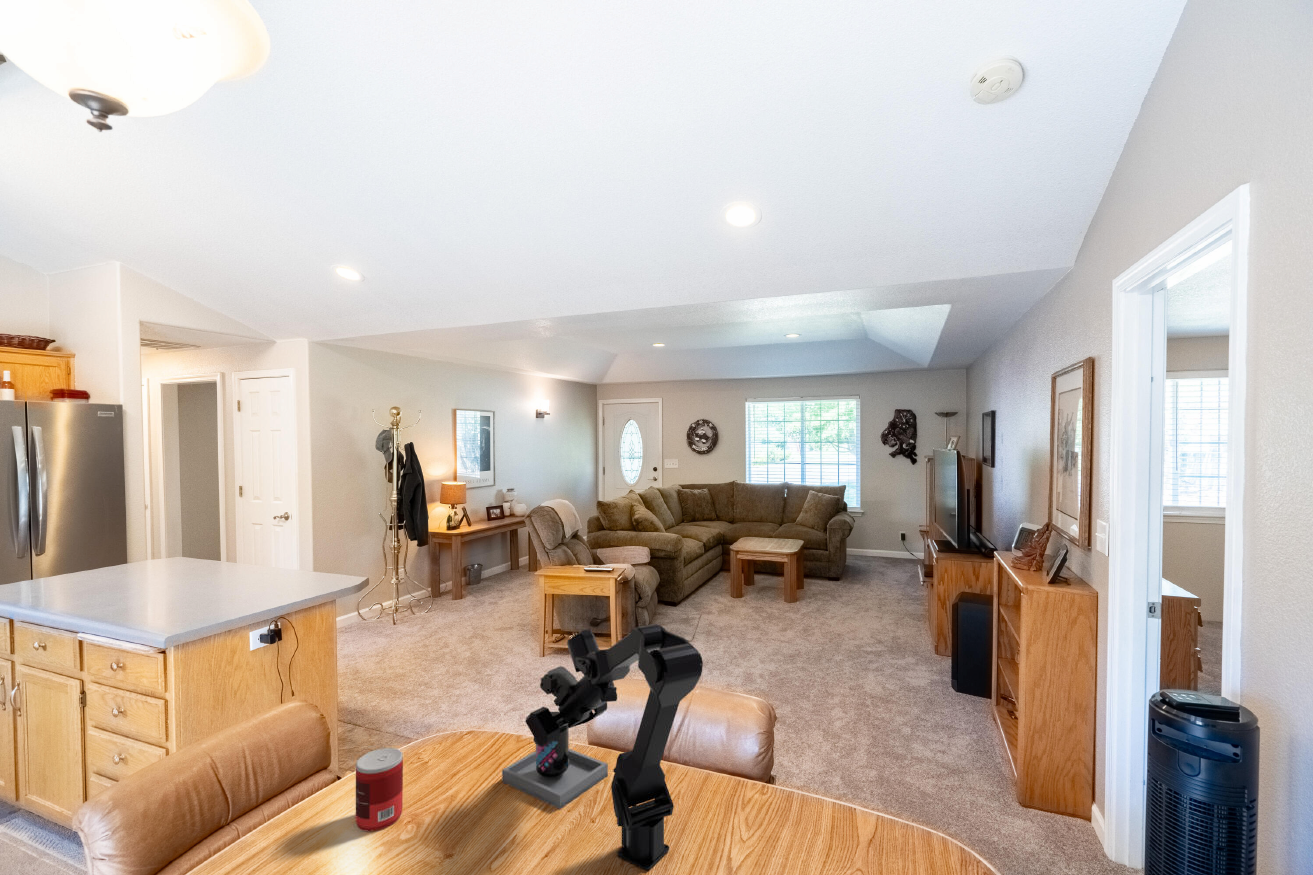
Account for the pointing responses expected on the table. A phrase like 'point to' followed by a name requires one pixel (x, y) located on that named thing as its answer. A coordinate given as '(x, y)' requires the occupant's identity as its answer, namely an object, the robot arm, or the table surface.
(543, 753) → the supplement container
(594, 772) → the tray
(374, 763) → the canned food
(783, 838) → the table surface
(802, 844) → the table surface
